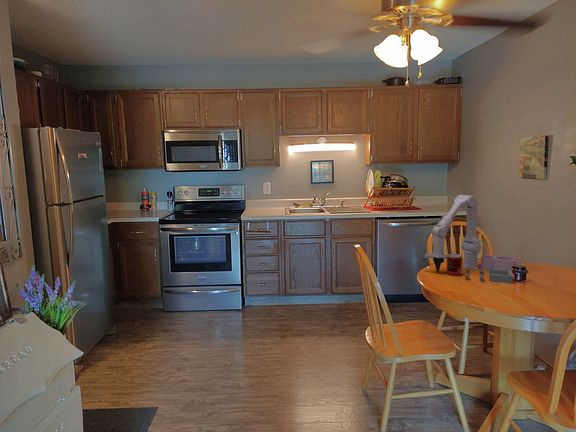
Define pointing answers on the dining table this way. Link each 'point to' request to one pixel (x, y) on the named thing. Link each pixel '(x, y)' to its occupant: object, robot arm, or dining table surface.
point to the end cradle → (500, 275)
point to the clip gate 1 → (467, 272)
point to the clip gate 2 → (481, 275)
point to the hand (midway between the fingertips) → (437, 270)
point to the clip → (499, 262)
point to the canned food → (454, 264)
